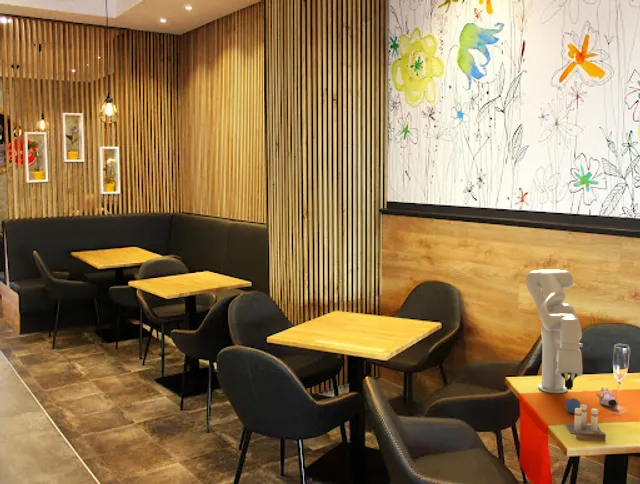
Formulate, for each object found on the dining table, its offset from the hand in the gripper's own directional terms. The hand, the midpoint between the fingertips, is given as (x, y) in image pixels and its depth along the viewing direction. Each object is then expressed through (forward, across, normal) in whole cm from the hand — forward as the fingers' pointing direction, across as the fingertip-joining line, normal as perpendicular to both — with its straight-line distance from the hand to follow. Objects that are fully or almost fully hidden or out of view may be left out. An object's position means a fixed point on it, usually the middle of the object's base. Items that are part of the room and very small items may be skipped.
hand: (568, 388), depth 276 cm
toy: (+8, -17, -4) cm, 19 cm away
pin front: (+8, 0, +24) cm, 25 cm away
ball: (+5, 0, +8) cm, 10 cm away
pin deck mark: (+8, 0, +26) cm, 27 cm away
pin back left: (+9, -3, +28) cm, 29 cm away
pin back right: (+9, +3, +28) cm, 29 cm away
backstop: (+9, 0, +35) cm, 36 cm away
